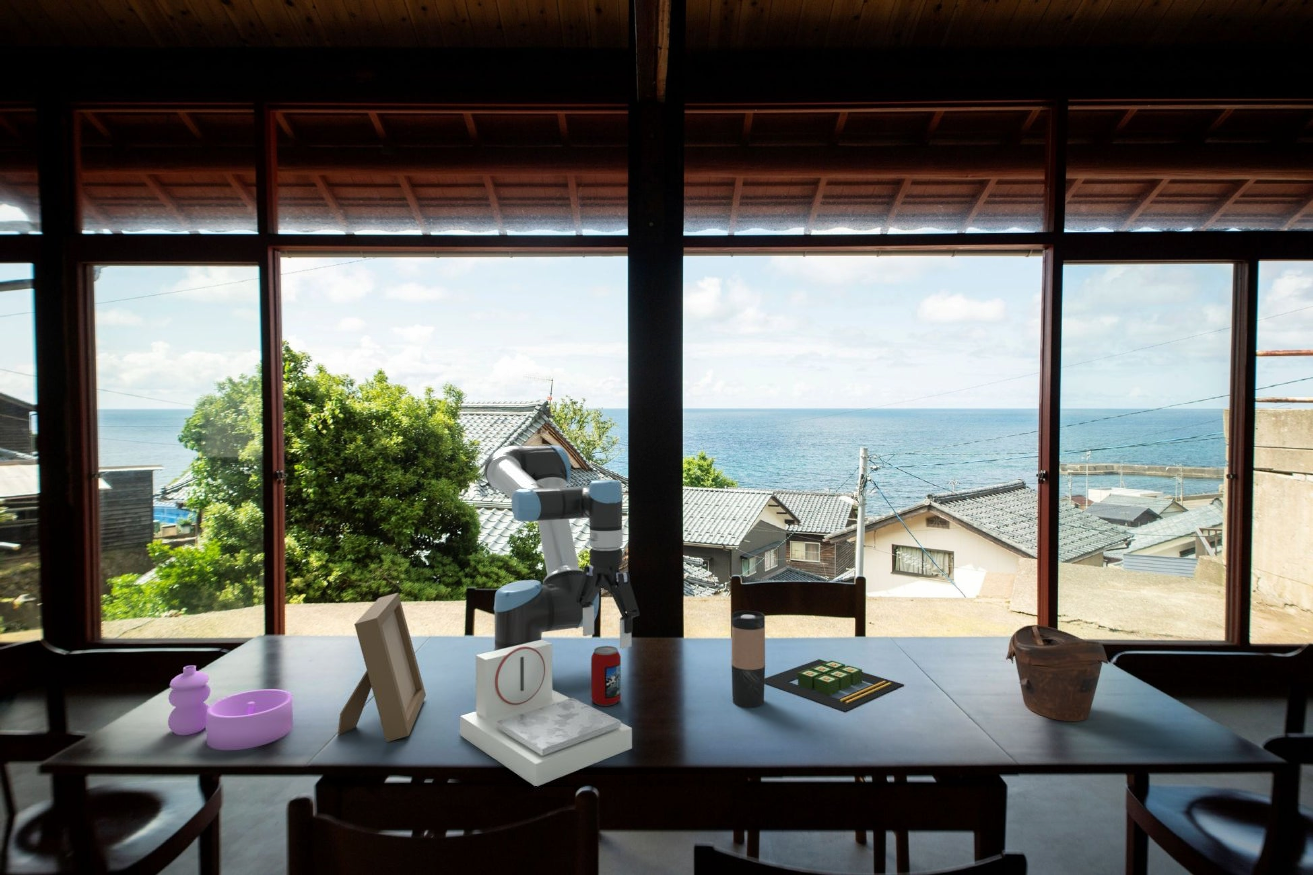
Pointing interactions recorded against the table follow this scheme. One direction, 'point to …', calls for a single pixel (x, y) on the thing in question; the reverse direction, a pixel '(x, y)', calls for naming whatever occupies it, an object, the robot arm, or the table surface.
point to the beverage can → (605, 676)
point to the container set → (229, 713)
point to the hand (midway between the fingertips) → (606, 641)
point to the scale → (520, 687)
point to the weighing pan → (557, 725)
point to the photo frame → (386, 671)
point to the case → (1056, 671)
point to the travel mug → (748, 658)
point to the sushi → (831, 684)
